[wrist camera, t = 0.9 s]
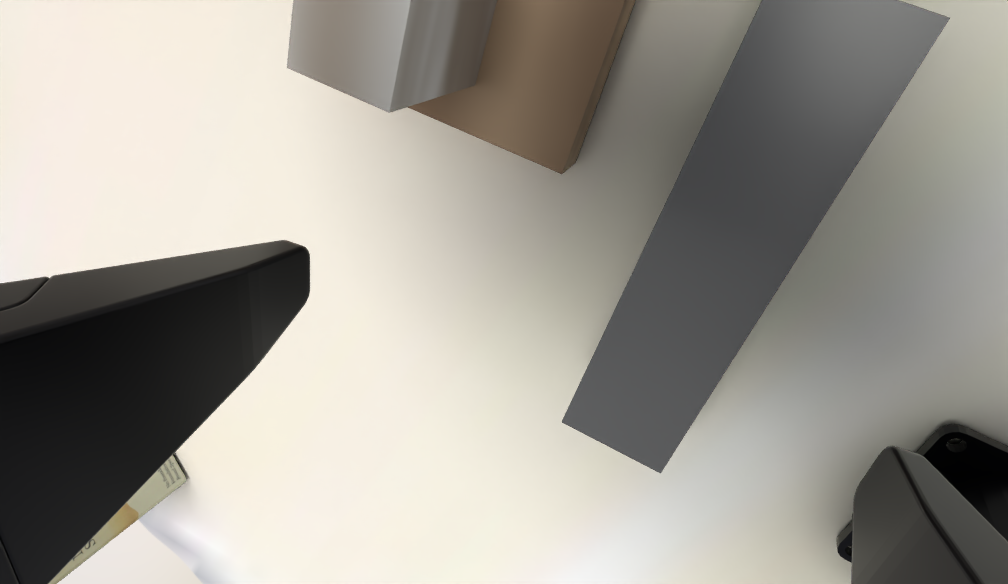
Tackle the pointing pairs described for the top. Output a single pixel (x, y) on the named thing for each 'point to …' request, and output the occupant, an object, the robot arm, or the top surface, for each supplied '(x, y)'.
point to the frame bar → (745, 209)
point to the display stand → (470, 63)
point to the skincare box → (130, 512)
